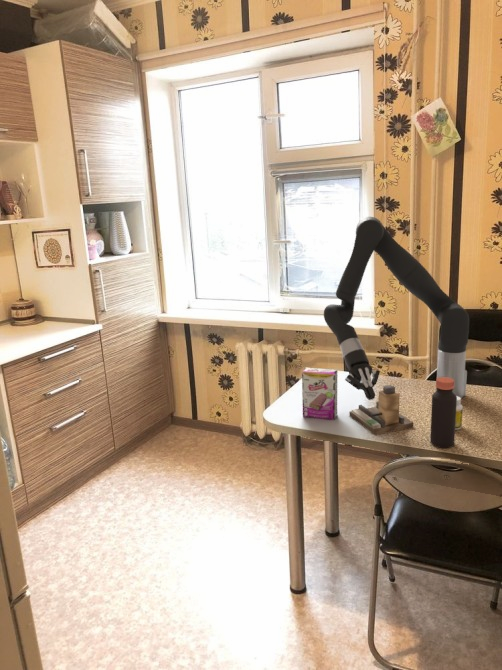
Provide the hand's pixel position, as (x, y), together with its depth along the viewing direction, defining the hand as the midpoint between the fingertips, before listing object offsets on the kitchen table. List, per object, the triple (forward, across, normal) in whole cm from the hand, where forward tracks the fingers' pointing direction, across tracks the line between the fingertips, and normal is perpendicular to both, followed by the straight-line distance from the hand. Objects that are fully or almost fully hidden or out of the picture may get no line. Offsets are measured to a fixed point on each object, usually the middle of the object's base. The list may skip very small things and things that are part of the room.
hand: (372, 398), depth 185 cm
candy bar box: (0, -16, +9) cm, 18 cm away
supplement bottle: (+17, +18, -9) cm, 26 cm away
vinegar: (+23, +8, -14) cm, 28 cm away
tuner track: (+8, 0, 0) cm, 8 cm away
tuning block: (+10, -2, -4) cm, 11 cm away
